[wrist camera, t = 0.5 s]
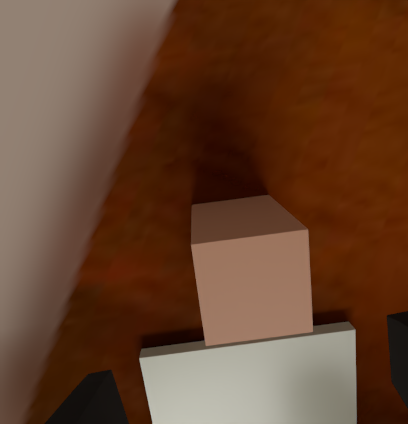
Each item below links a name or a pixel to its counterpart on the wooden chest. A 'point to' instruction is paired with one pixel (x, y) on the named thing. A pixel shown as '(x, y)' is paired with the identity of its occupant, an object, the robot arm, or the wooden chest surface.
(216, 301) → the block
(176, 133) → the wooden chest surface
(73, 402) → the robot arm
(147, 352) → the mat
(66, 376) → the wooden chest surface
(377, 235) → the wooden chest surface
